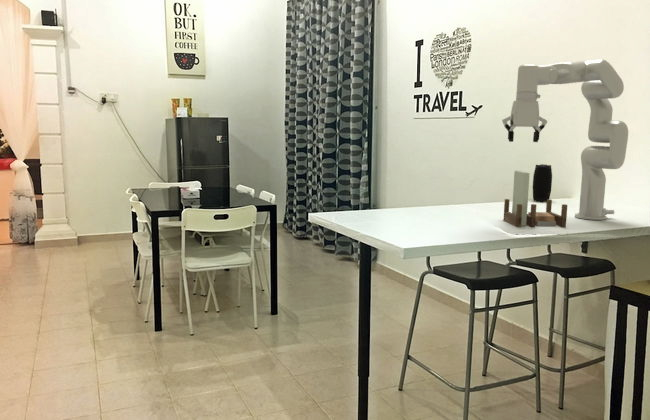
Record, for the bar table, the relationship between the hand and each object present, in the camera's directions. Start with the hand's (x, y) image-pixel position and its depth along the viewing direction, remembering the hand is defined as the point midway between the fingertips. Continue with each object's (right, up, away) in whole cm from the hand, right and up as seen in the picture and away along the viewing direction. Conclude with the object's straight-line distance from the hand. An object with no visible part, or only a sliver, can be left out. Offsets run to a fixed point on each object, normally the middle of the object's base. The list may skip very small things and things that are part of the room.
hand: (523, 141), depth 219 cm
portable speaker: (+38, -22, +80) cm, 91 cm away
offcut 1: (+9, -30, +5) cm, 32 cm away
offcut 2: (+9, -32, +5) cm, 34 cm away
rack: (+6, -33, +5) cm, 34 cm away
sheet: (0, -33, +5) cm, 34 cm away
